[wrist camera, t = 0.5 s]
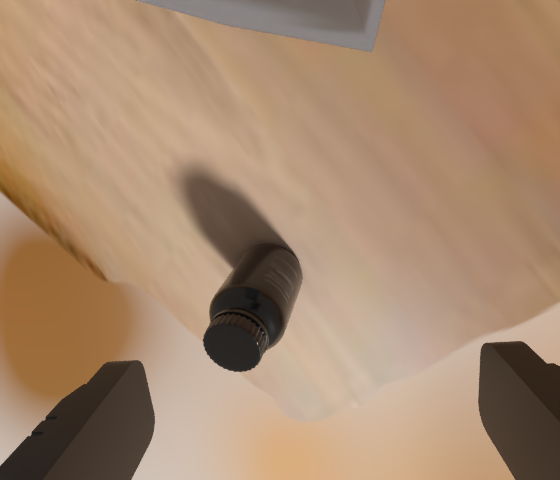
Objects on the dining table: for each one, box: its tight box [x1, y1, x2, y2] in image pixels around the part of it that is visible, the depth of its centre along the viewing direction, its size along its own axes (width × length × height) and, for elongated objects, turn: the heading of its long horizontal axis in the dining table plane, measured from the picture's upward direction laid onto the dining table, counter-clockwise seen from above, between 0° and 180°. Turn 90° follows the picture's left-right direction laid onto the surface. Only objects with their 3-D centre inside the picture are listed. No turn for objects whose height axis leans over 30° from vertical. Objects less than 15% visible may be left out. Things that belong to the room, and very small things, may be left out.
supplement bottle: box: [203, 244, 302, 372], centre depth 34 cm, size 7×7×12 cm
